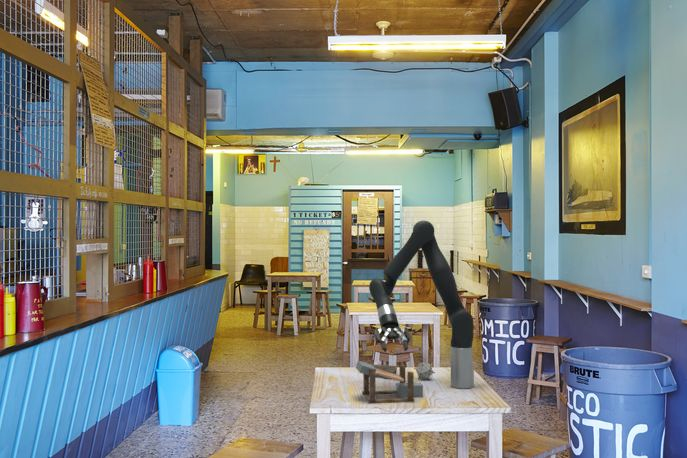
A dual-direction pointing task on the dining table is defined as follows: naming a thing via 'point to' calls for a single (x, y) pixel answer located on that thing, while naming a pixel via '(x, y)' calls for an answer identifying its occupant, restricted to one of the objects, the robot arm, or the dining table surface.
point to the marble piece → (385, 368)
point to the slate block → (402, 390)
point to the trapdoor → (365, 368)
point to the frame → (370, 390)
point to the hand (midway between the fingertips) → (395, 350)
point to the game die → (424, 370)
